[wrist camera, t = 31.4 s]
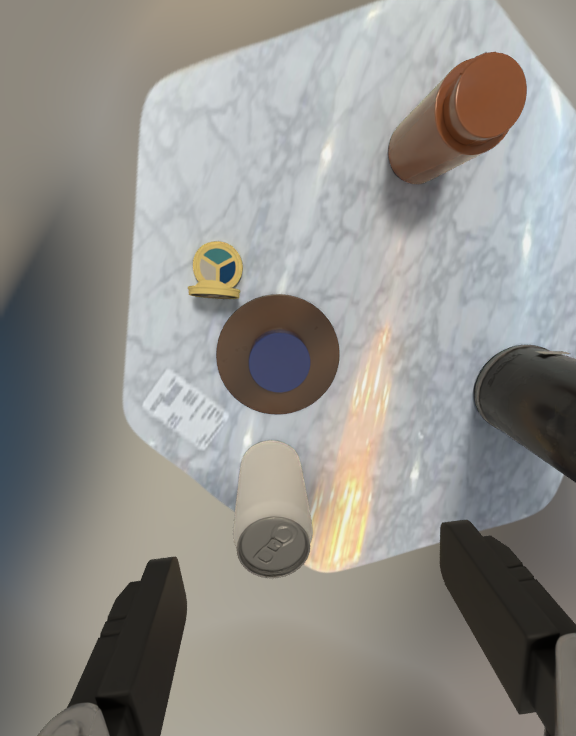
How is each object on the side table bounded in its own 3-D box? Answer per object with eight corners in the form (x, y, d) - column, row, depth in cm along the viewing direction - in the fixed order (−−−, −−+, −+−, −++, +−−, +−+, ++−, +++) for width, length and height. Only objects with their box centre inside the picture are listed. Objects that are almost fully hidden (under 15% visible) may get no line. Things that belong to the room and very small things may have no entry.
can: (312, 458, 39) (332, 538, 28) (277, 501, 40) (283, 595, 29) (263, 427, 38) (263, 497, 26) (228, 472, 39) (214, 559, 28)
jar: (461, 146, 32) (553, 90, 22) (418, 197, 33) (488, 167, 23) (418, 99, 31) (494, 17, 21) (375, 154, 32) (428, 101, 21)
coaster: (362, 346, 36) (364, 347, 36) (286, 433, 38) (287, 435, 38) (268, 267, 34) (268, 267, 33) (192, 365, 36) (191, 367, 35)
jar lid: (236, 360, 35) (235, 366, 33) (275, 316, 34) (276, 319, 32) (281, 397, 37) (282, 404, 35) (320, 355, 36) (323, 360, 34)
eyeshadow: (243, 243, 33) (240, 239, 28) (241, 299, 34) (238, 304, 30) (194, 240, 33) (182, 235, 28) (194, 296, 34) (183, 301, 29)
